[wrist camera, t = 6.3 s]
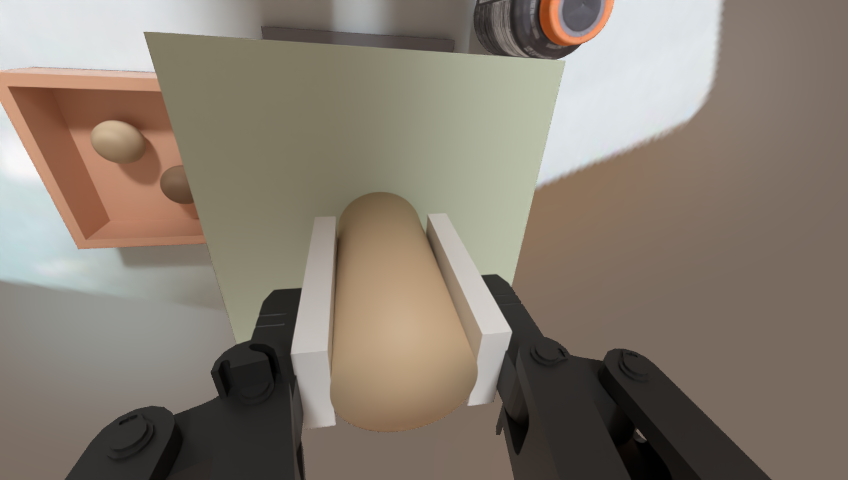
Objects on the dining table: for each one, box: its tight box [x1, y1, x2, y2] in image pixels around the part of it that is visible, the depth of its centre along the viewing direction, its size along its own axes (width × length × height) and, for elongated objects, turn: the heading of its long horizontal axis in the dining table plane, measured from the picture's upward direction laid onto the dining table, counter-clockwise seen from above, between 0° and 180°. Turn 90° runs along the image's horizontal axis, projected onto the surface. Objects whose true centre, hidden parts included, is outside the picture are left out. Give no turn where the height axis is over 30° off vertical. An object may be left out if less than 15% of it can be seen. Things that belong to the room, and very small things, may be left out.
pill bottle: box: [474, 0, 614, 60], centre depth 24 cm, size 6×6×11 cm
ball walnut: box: [160, 165, 194, 204], centre depth 28 cm, size 3×3×3 cm
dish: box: [0, 67, 206, 249], centre depth 27 cm, size 13×13×4 cm
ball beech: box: [90, 120, 147, 164], centre depth 26 cm, size 3×3×3 cm
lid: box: [144, 32, 565, 432], centre depth 12 cm, size 14×14×9 cm
